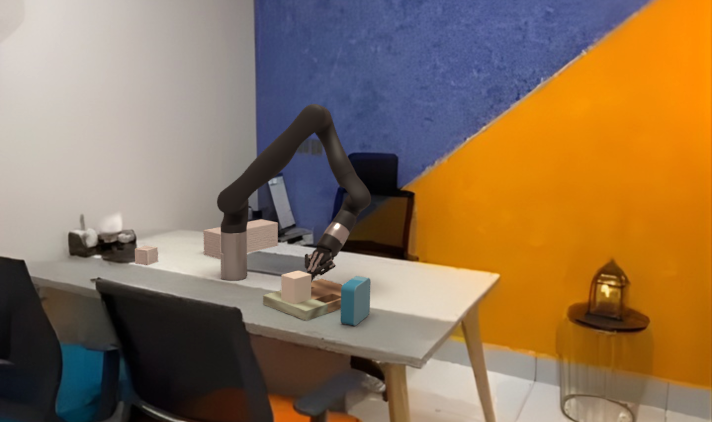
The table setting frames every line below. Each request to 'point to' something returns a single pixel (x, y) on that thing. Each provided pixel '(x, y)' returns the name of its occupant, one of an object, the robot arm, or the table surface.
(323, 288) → the board
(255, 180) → the robot arm
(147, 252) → the pale pink cube
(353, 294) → the data package
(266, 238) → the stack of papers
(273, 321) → the table surface
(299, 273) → the block
